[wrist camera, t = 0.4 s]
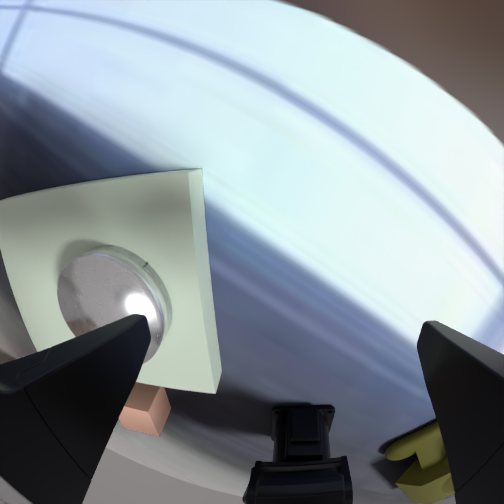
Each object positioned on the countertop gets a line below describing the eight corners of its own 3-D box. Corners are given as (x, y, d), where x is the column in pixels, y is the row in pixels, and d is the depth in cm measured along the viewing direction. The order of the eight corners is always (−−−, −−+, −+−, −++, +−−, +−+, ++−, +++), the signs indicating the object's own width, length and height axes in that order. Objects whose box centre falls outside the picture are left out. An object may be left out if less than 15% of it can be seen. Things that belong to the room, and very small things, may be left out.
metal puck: (181, 353, 21) (171, 374, 19) (92, 339, 22) (78, 355, 20) (161, 244, 18) (145, 258, 16) (64, 245, 19) (44, 256, 17)
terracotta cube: (171, 407, 29) (159, 436, 25) (137, 400, 29) (123, 427, 25) (162, 381, 27) (148, 412, 23) (126, 375, 28) (109, 402, 24)
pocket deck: (221, 371, 25) (215, 393, 23) (52, 341, 28) (38, 355, 25) (201, 168, 19) (188, 172, 16) (11, 196, 22) (-9, 203, 19)
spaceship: (412, 490, 36) (419, 525, 27) (378, 442, 29) (389, 502, 20) (546, 406, 27) (563, 434, 17) (570, 308, 19) (606, 342, 10)
